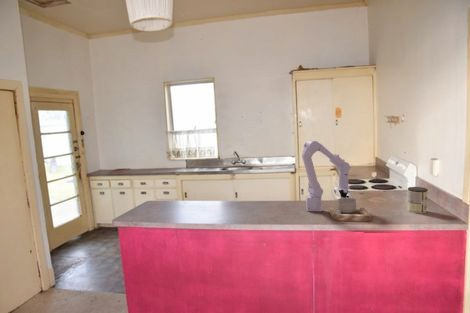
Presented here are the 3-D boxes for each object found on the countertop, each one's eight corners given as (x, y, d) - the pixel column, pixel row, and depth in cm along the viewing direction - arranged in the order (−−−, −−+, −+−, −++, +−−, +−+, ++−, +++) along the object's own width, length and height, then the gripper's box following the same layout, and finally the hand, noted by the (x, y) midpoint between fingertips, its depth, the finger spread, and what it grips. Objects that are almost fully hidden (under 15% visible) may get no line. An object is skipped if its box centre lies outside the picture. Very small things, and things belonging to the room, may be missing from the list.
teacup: (357, 214, 186) (357, 201, 185) (338, 214, 188) (338, 201, 187) (353, 208, 200) (353, 196, 199) (335, 208, 202) (335, 196, 201)
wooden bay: (333, 220, 177) (333, 215, 177) (329, 211, 194) (329, 207, 194) (370, 221, 174) (370, 215, 174) (363, 212, 191) (363, 207, 190)
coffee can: (407, 208, 197) (407, 186, 196) (426, 210, 193) (426, 187, 191) (407, 212, 188) (407, 189, 187) (427, 214, 184) (428, 190, 182)
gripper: (352, 182, 192) (352, 204, 194) (347, 178, 207) (347, 198, 208) (340, 182, 193) (340, 204, 195) (336, 178, 208) (336, 198, 209)
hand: (343, 201), depth 201 cm, fingers closed
